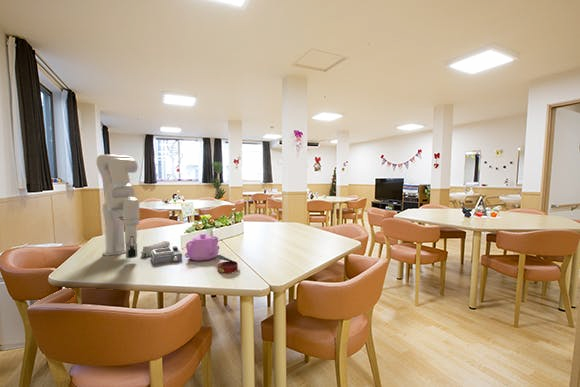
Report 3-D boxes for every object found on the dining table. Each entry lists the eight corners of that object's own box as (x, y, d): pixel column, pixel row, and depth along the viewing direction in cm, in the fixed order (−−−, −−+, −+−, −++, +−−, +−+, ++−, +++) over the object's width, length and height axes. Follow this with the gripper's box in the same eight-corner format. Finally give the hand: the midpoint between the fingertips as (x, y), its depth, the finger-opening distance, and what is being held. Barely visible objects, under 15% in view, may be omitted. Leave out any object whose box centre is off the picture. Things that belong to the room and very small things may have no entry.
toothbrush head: (170, 240, 172) (147, 245, 147) (170, 250, 172) (147, 256, 147) (163, 240, 173) (139, 245, 148) (162, 250, 172) (138, 256, 147)
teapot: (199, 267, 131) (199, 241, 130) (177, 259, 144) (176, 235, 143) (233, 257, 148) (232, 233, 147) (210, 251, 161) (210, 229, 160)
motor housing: (150, 258, 146) (150, 248, 145) (177, 254, 153) (177, 245, 153) (154, 266, 132) (153, 256, 132) (182, 261, 140) (182, 251, 139)
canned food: (218, 278, 129) (215, 258, 132) (238, 273, 132) (234, 254, 136) (218, 275, 119) (215, 254, 122) (240, 270, 122) (236, 250, 126)
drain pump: (125, 255, 138) (125, 241, 137) (137, 254, 141) (136, 240, 140) (126, 258, 134) (125, 243, 133) (137, 257, 136) (137, 242, 136)
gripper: (122, 219, 141) (123, 251, 142) (123, 225, 126) (123, 261, 128) (138, 218, 145) (138, 249, 146) (140, 224, 131) (140, 258, 132)
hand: (131, 254), depth 137 cm, fingers closed on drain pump, 5 cm apart
